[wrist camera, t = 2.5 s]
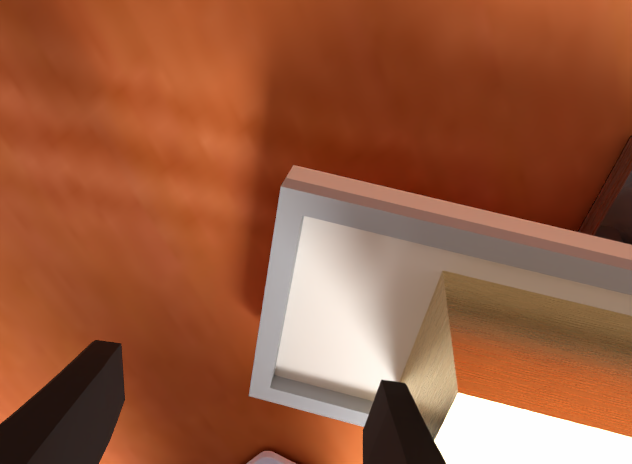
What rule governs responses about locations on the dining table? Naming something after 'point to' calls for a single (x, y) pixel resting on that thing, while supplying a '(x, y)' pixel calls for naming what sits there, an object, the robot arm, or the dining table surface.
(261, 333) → the beam
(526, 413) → the brass bar
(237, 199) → the dining table surface
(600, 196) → the beam stand
